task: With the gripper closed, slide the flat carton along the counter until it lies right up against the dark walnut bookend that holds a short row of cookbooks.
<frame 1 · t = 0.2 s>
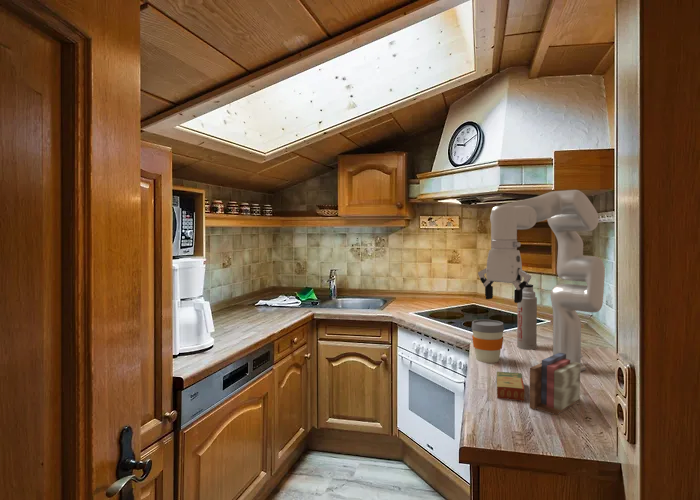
hand: (503, 300, 138), 30 cm above the table, tool pointing down, fingers open, 9 cm apart
carton: (509, 392, 145), on the table
reusable coffee cup: (487, 359, 180), on the table
bookend: (546, 400, 136), on the table
thermos bottle: (526, 347, 197), on the table
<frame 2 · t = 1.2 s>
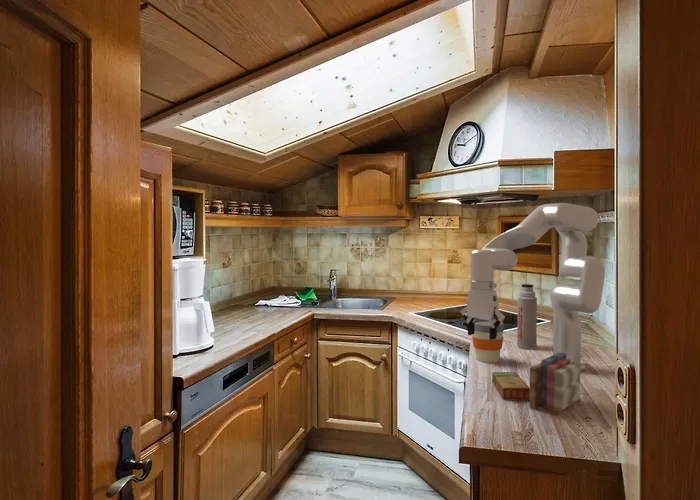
hand: (481, 336, 152), 16 cm above the table, tool pointing down, fingers open, 7 cm apart
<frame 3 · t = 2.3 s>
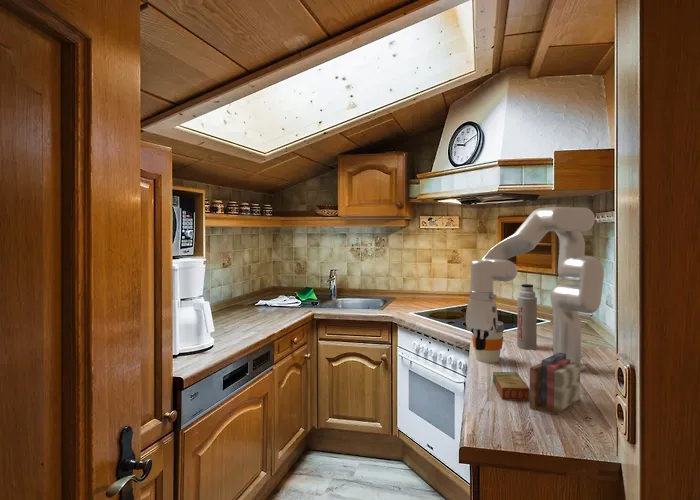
hand: (480, 349, 152), 12 cm above the table, tool pointing down, fingers closed
nothing on the table moved.
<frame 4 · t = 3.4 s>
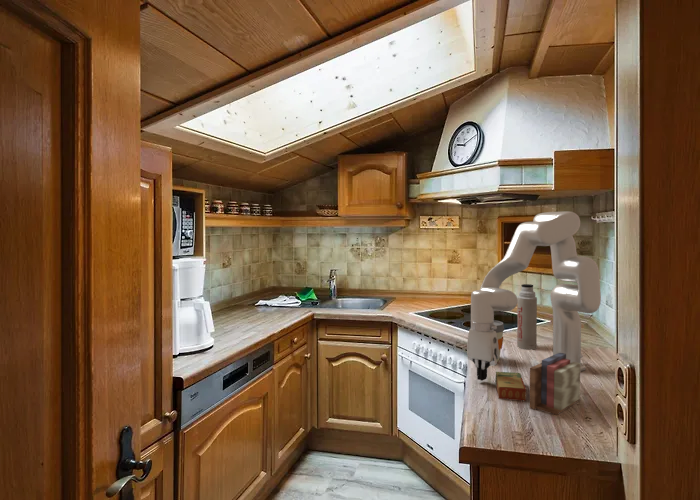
hand: (482, 379, 153), 1 cm above the table, tool pointing down, fingers closed
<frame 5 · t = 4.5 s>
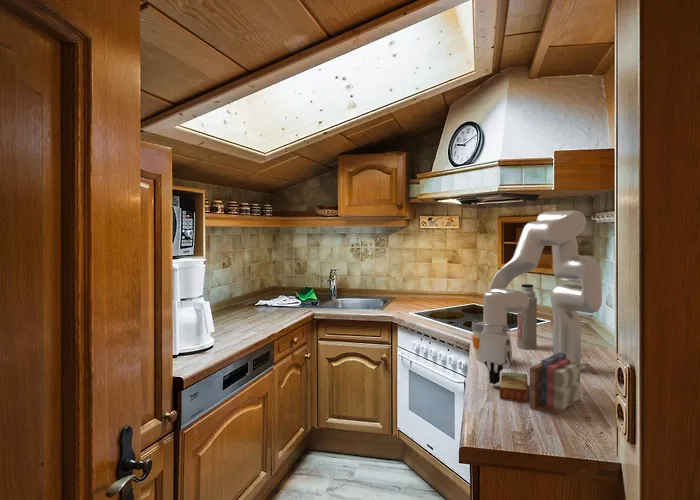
hand: (494, 382, 149), 1 cm above the table, tool pointing down, fingers closed
carton: (513, 393, 144), on the table
everything else where it was.
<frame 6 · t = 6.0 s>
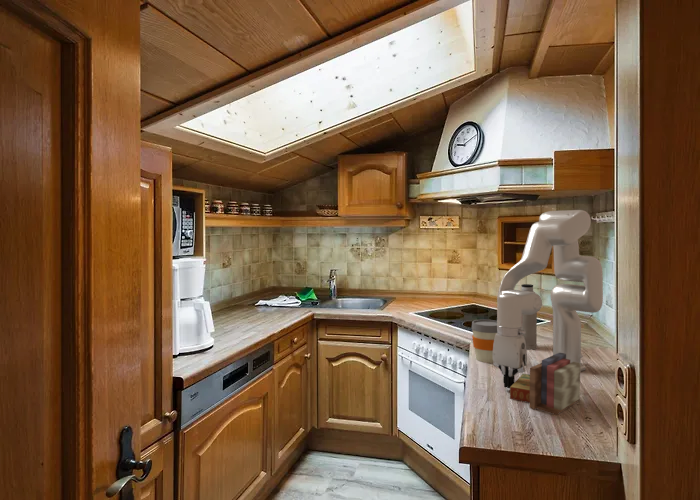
hand: (508, 386, 145), 1 cm above the table, tool pointing down, fingers closed
carton: (529, 394, 143), on the table
everything else where it was.
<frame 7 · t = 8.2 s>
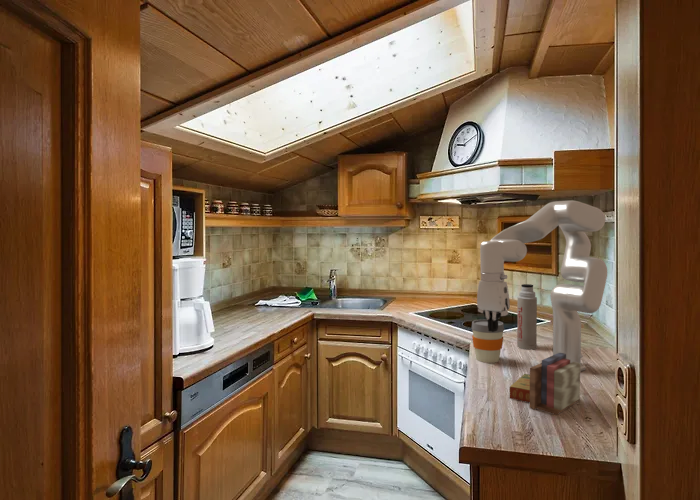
hand: (493, 330, 151), 18 cm above the table, tool pointing down, fingers closed
nothing on the table moved.
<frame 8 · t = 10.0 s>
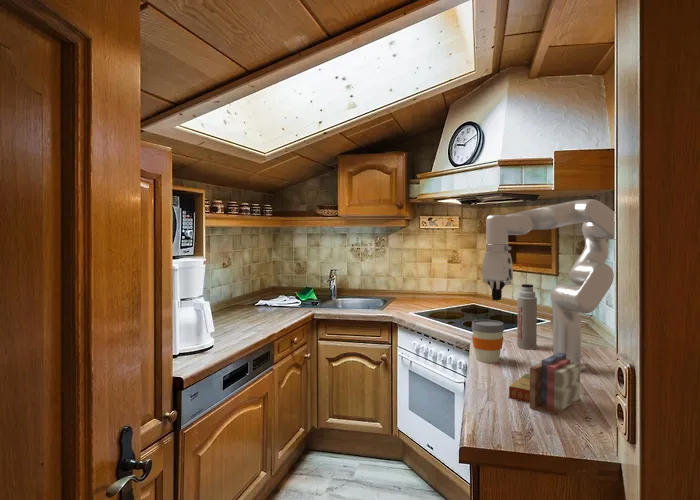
hand: (496, 299, 161), 27 cm above the table, tool pointing down, fingers closed
nothing on the table moved.
at the end: carton inside the target area (2.5 cm from its centre), on the table; carton moved 6.2 cm from its start; carton tilted 0° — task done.
